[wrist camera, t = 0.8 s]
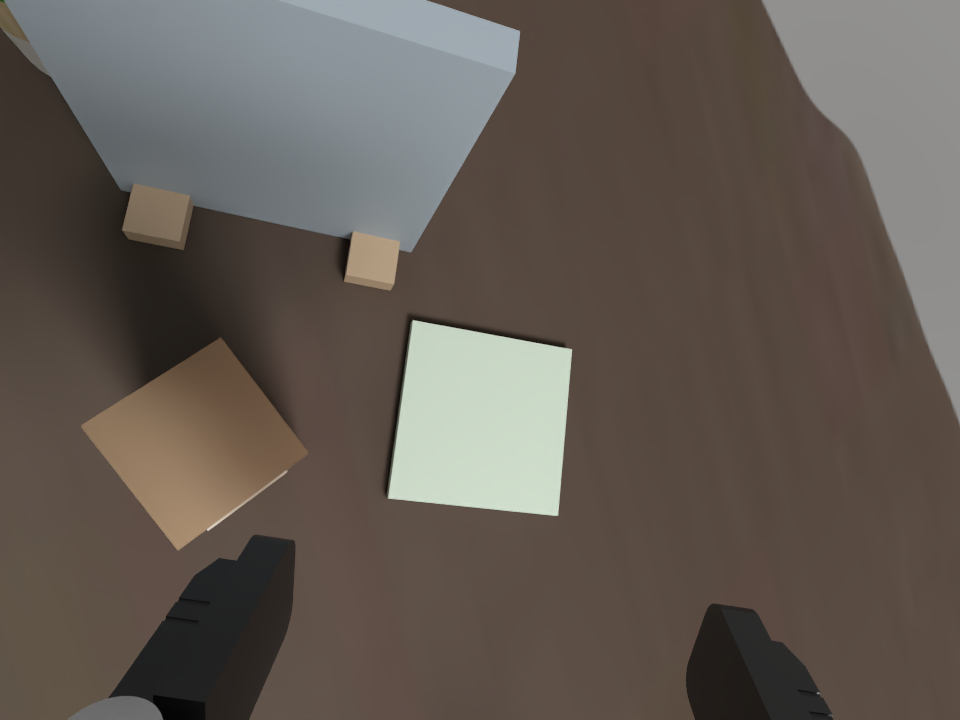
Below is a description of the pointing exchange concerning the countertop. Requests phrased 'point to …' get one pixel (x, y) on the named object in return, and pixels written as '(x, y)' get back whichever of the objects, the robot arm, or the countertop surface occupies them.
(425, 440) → the mat
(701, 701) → the robot arm
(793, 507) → the countertop surface
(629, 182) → the countertop surface
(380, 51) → the screen
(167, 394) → the brown wooden block
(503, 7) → the countertop surface
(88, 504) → the countertop surface
